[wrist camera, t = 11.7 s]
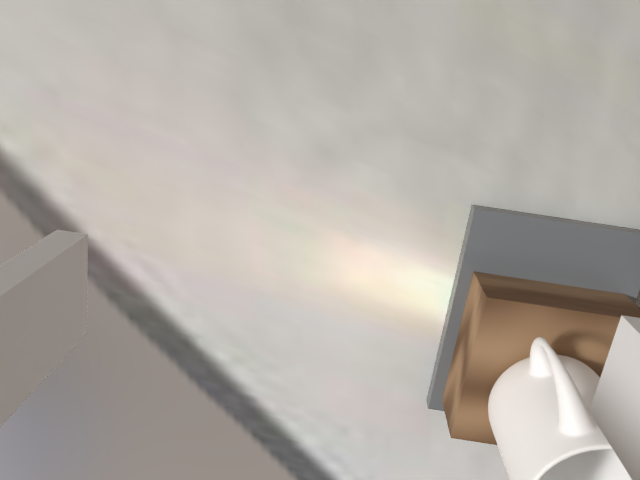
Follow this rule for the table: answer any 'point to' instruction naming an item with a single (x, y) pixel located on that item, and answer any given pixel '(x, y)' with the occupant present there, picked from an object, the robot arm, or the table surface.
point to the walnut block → (522, 339)
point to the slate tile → (535, 264)
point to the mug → (550, 420)
